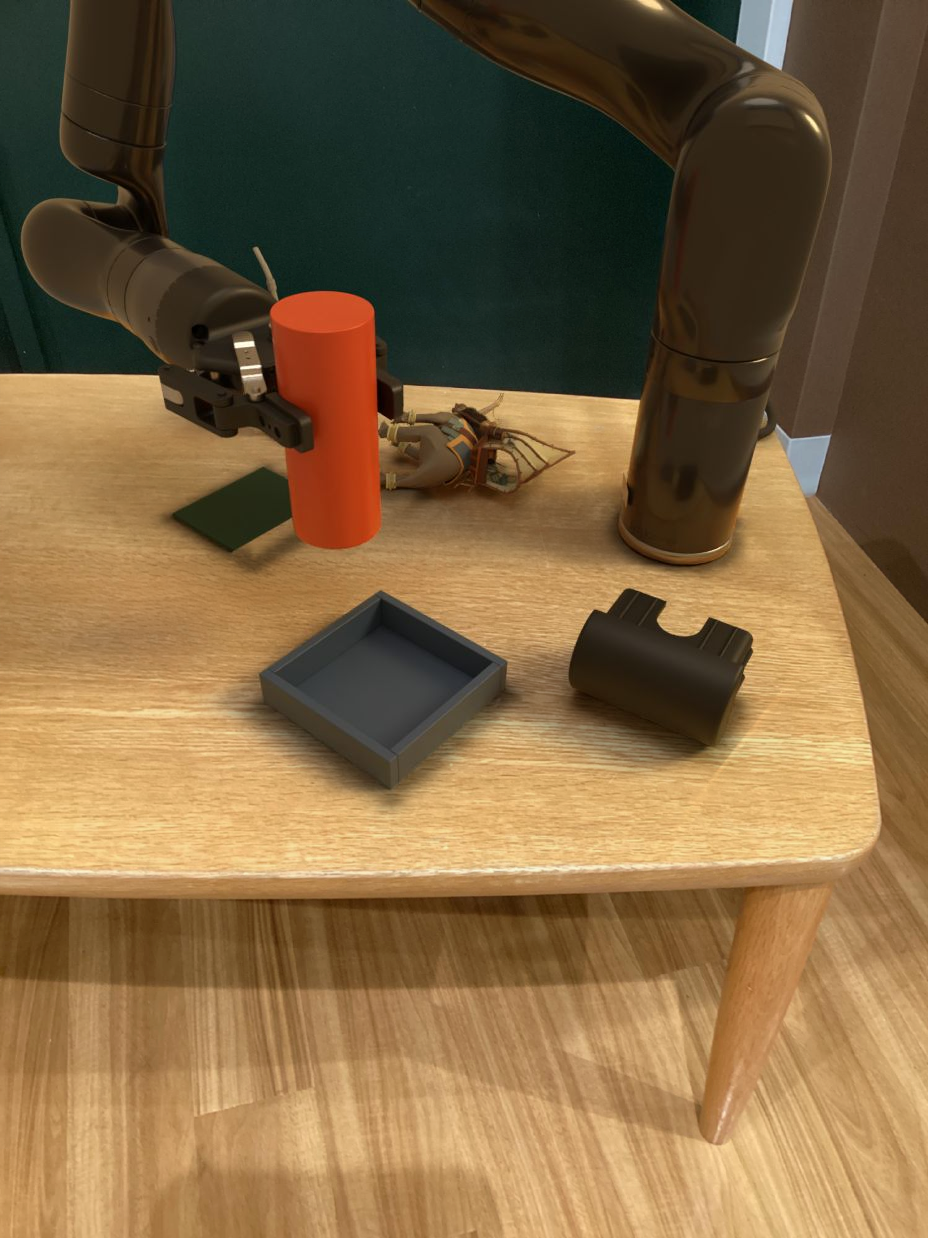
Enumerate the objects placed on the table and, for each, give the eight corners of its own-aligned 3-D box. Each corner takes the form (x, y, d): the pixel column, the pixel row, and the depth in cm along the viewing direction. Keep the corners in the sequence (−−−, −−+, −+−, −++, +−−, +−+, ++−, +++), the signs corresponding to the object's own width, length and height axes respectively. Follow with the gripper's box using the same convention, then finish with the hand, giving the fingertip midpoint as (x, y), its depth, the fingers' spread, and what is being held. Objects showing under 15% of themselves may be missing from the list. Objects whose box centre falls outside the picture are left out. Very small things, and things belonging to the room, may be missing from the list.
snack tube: (337, 489, 62) (323, 282, 53) (399, 521, 59) (395, 309, 50) (274, 525, 59) (247, 311, 49) (337, 561, 56) (321, 341, 47)
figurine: (412, 362, 89) (587, 384, 86) (411, 421, 92) (579, 443, 90) (351, 455, 73) (563, 485, 71) (353, 521, 76) (555, 551, 74)
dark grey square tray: (382, 621, 68) (380, 589, 66) (505, 693, 62) (507, 660, 60) (263, 706, 61) (258, 673, 59) (390, 795, 56) (389, 762, 54)
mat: (263, 470, 83) (263, 466, 83) (342, 511, 78) (342, 507, 78) (172, 517, 77) (171, 513, 77) (252, 565, 72) (251, 560, 72)
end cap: (561, 711, 61) (571, 634, 57) (605, 650, 66) (618, 575, 61) (705, 773, 57) (728, 697, 53) (741, 704, 62) (765, 628, 58)
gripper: (88, 290, 55) (233, 395, 46) (292, 242, 63) (453, 324, 53) (115, 404, 60) (252, 520, 51) (301, 347, 68) (450, 439, 58)
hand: (354, 419), depth 52 cm, fingers closed on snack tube, 5 cm apart
